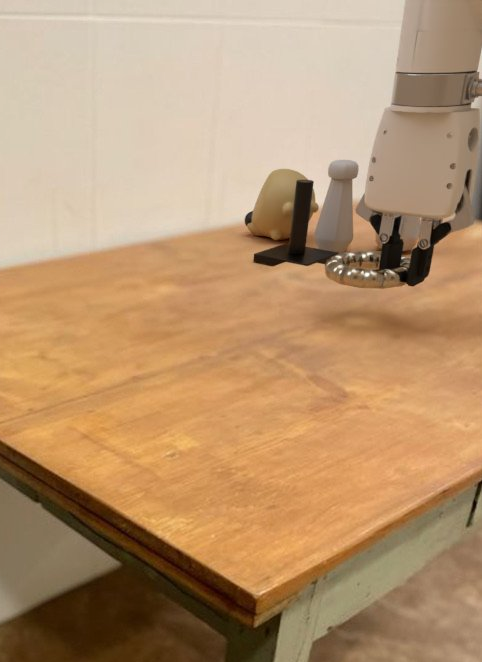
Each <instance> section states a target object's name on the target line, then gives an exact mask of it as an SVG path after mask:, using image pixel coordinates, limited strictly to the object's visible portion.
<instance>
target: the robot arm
mask: <svg viewBox="0 0 482 662" xmlns="http://www.w3.org/2000/svg"><path fill="white" fill-rule="evenodd" d="M400 27H401V28H400V36H399V43H398V50H397V56H396V65H395V72H394V79H393V84H392V85H393V86H392V92H391V100H390V106H388V107H387V106H386V107H385V108H384V109H383V112H382V114H381V118H380V121H379V124H378V127H377V131H376V134H375V136H374V137H375V138H374V141H373V145H372V150H371V153H370V158H369V162H368V168H367V173H366V180H365V187H364V193H363V195H362V197H361V198H360V200H359V202H358V204H357V205H356V207H355V213H356V214H357V216H358V217H361V218H362V219H363V220H364V221H366V222H369V223H370V225H371V227H372V228H373V229H374V232H375V234H376V233H377V234H378V235H379V241H380V242H381V243H383V244H382V248H381V250H380V251H381V257H380V264H379V269H391V268H398V267H400V264H401V257H402V255H403V252H404V251H403V245H404V242H403V239H400V233H401V228H402V222H403V217H404V215H408V216H417V217H420V233H419V238H418V241H417V243H416V247H413V248H412V249H411V254H410V258H411V259H410V265H409V271H408V277H407V284H406V285H407V286H408V287H413V288H414V287H416V286H417V285H420V284H421V283H423V282H425V279H426V278H428V276H430V273H431V268H432V267H431V266H432V262H433V261H432V260H433V255H434V251H435V246H436V245H437V244H438V243H439V242H440V241H442V240H443V239H444V238H446V237H447V236H448V235H450V234H451V233H452V234H453V233H455V232H458V231H461V230H464V229H467V228H469V227H471V226H473V225H474V224H475V222H476V220H475V219H476V218H475V215H474V211H473V205H472V201H473V196H474V191H475V185H476V179H477V178H476V177H477V170H478V160H479V148H480V133H481V131H480V130H481V115H480V114H481V112H480V111H481V110H480V108H478V107H472V104H473V103H474V102H475V99H477V98H479V97H482V78H480V71H478V70H479V66H480V59H481V54H482V0H404V5H403V14H402V21H401V26H400ZM454 214H455V215H454ZM453 215H454V218H452V219H449V220H446V221H444V219H447V218H450V217H451V216H453ZM443 221H444V222H443Z"/></svg>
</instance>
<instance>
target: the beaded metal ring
mask: <svg viewBox="0 0 482 662" xmlns="http://www.w3.org/2000/svg"><path fill="white" fill-rule="evenodd" d="M380 257H381V250H354V251H345V252H344V253H340V254H338V255H335V256H333V257H331V258H329V259H328V260H327V261H326V263H325V264H324V274H325V276H326V278H327V279H329V280H331V281H333V282H335V283H337V284H339V285H342V286H347V287H353V288H358V289H380V290H383V289H390V288H392V289H393V288H399V287H403V286H406V285H408V284H407V277H408V271H409V265H410V259H411V257H408V256H406V255H403V254H402V257H401V264H400V267H398V268H391V269H379V264H380Z"/></svg>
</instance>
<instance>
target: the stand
mask: <svg viewBox="0 0 482 662" xmlns="http://www.w3.org/2000/svg"><path fill="white" fill-rule="evenodd" d="M313 189H314V180H312V179H308V180H297V181H296V189H295V198H294V206H293V215H292V224H291V233H290V238H289V243H287V242H285V243H282V244H280V245H276V246H273V247H271V248H268V249H265V250H262V251H258V252H255V253H254V254H253V259H252V260H253V261H252V262H253V263H257V264H261V265H266V266H271V267H276V266H278V265H282V264H284V263H289V264H295V265H300V266H305V267H309V266H311V265H314V264H319V265H320V264H322V265H325V263H326V261H327V260H328V259H329V258H331V257H333V256H335V255H338V254H339V253H338V252H332V251H327V250H321V249H318V248H317V247H316V248H314V247H310V246H307V240H308V239H307V237H308V230H309V222H310V221H309V215H310V207H311V199H312V191H313Z"/></svg>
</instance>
